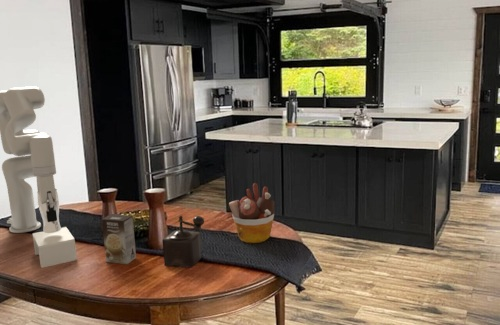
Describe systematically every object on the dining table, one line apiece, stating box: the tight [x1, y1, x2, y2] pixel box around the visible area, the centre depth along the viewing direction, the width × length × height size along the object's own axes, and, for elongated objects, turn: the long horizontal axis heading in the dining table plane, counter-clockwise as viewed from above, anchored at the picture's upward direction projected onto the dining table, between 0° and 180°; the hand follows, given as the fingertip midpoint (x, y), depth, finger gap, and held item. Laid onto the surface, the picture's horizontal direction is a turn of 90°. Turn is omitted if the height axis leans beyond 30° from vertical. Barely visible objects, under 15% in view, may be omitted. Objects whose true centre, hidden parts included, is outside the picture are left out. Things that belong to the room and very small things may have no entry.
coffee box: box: [101, 213, 137, 265], centre depth 173 cm, size 9×6×16 cm
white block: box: [31, 226, 78, 269], centre depth 179 cm, size 16×12×8 cm
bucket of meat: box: [228, 182, 275, 244], centre depth 188 cm, size 20×16×20 cm
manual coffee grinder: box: [161, 215, 205, 268], centre depth 168 cm, size 16×11×18 cm
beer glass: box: [36, 188, 62, 233], centre depth 176 cm, size 7×7×15 cm
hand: (50, 218), depth 177 cm, fingers closed on beer glass, 6 cm apart
